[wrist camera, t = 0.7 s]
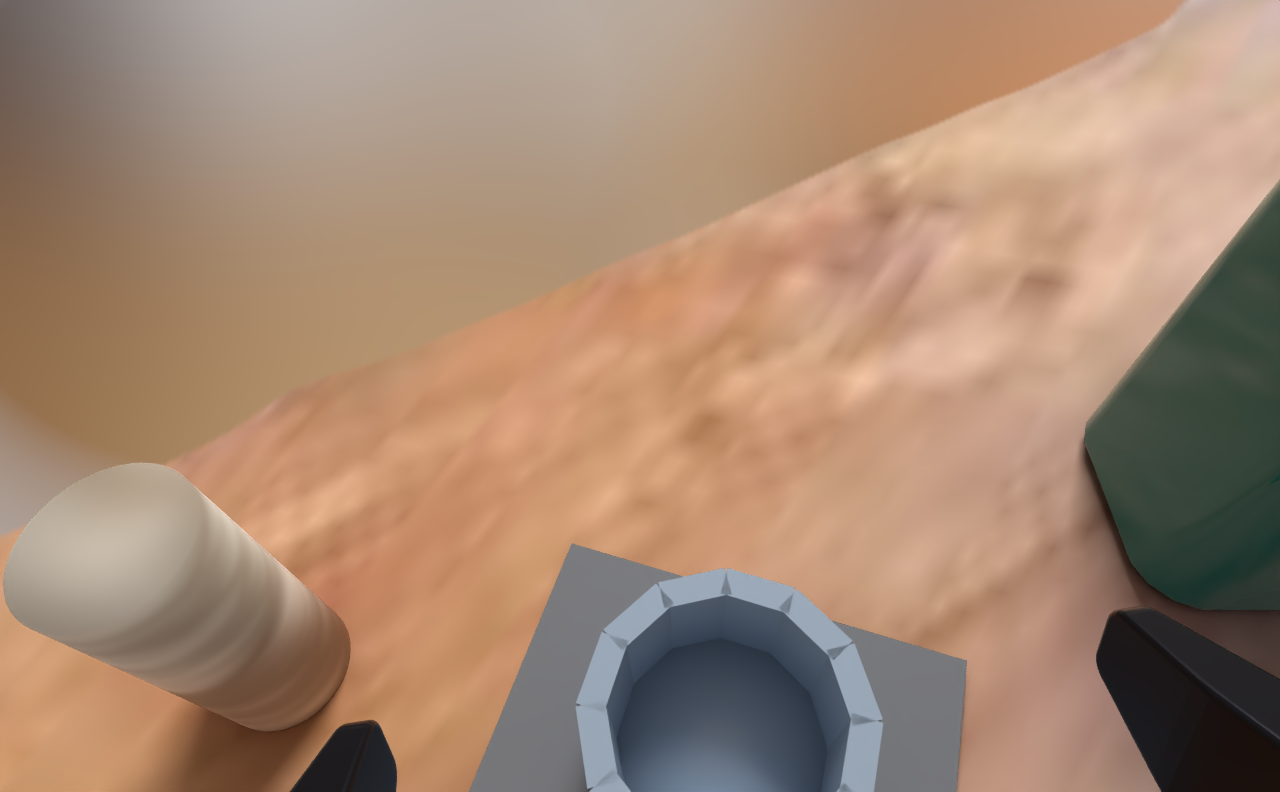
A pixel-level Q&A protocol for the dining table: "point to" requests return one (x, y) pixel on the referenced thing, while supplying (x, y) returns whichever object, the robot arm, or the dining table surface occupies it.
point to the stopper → (176, 598)
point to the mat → (607, 585)
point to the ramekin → (727, 694)
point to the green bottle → (1204, 435)
